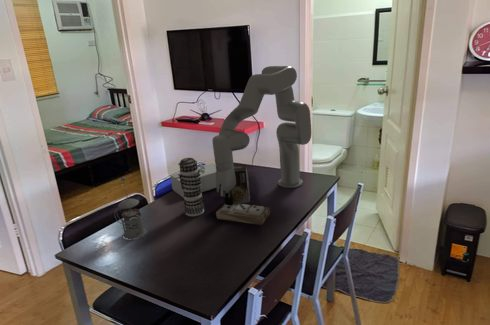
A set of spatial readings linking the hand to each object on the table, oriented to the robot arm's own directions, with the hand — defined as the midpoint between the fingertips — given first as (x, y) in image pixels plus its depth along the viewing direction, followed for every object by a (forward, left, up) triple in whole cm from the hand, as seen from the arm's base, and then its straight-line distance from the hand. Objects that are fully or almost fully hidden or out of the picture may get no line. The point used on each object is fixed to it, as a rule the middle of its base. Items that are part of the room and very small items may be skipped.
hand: (229, 204), depth 151 cm
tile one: (0, 0, -4) cm, 4 cm away
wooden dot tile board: (0, +6, -5) cm, 8 cm away
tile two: (0, +13, -3) cm, 13 cm away
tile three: (0, +6, -3) cm, 7 cm away
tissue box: (-24, -30, -5) cm, 38 cm away
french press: (+26, -32, -5) cm, 42 cm away
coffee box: (-14, -2, -5) cm, 14 cm away
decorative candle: (+2, -17, -5) cm, 17 cm away
